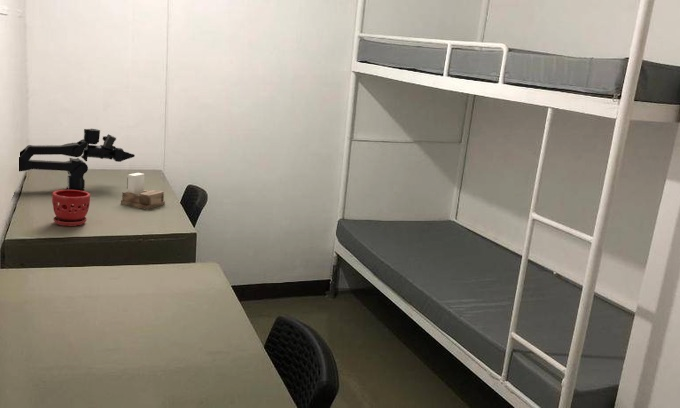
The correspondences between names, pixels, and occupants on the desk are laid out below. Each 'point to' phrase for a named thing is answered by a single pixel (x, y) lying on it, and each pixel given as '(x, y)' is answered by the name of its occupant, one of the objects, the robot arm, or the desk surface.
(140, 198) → the housing
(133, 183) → the white rectangular block
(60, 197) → the plant pot
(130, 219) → the desk surface
